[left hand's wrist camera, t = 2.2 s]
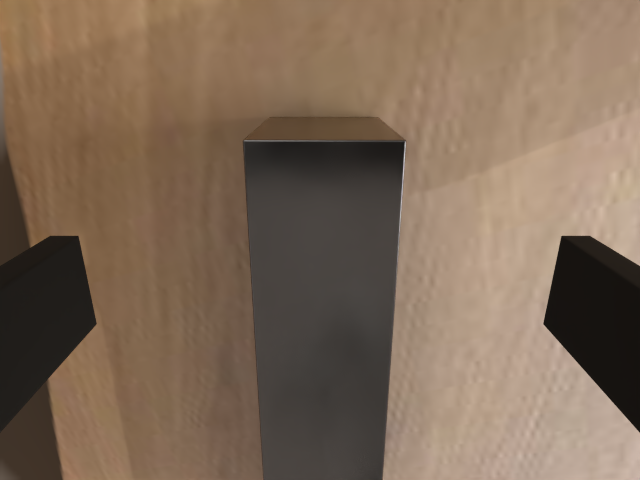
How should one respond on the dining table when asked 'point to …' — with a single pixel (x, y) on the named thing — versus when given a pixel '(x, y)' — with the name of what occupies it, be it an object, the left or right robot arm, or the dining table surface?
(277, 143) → the bar
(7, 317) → the left robot arm
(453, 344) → the dining table surface
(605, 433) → the dining table surface
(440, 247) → the dining table surface
